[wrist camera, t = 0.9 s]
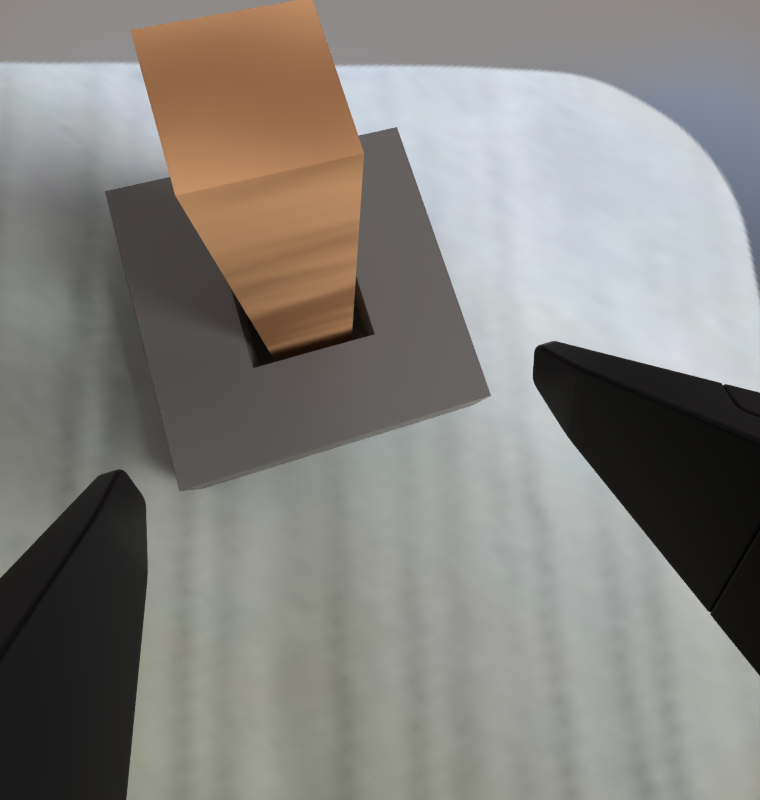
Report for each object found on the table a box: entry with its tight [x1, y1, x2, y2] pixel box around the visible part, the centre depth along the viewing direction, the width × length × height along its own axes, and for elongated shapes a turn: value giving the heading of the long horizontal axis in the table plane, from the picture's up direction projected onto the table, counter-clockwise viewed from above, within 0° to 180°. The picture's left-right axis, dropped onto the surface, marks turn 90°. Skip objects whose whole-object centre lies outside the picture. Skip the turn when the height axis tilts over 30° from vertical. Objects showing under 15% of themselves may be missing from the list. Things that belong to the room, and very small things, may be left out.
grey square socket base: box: [105, 127, 491, 491], centre depth 22 cm, size 14×14×3 cm
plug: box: [131, 0, 364, 362], centre depth 17 cm, size 4×4×14 cm
